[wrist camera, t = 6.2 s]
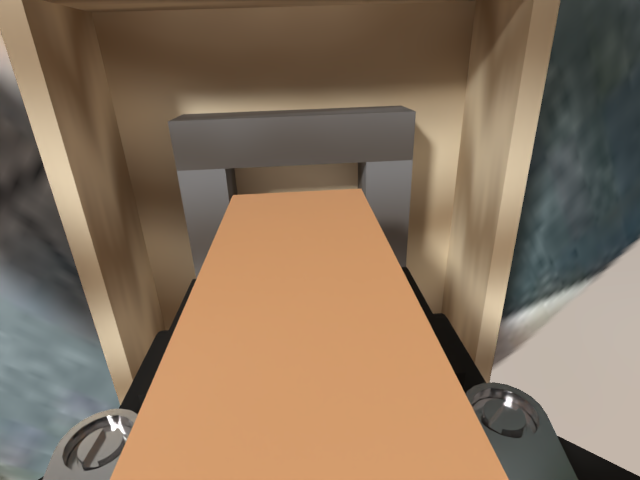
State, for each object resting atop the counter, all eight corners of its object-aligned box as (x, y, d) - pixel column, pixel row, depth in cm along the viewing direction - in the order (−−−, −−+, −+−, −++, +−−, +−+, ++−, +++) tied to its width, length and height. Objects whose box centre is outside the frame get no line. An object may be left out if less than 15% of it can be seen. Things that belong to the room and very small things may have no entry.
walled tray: (73, -9, 15) (-22, -40, 10) (489, -21, 16) (570, -54, 11) (165, 365, 22) (132, 442, 18) (445, 346, 23) (482, 416, 18)
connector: (233, 195, 12) (-48, 841, 2) (361, 188, 12) (652, 761, 2) (247, 303, 14) (126, 950, 4) (360, 296, 14) (525, 898, 4)
